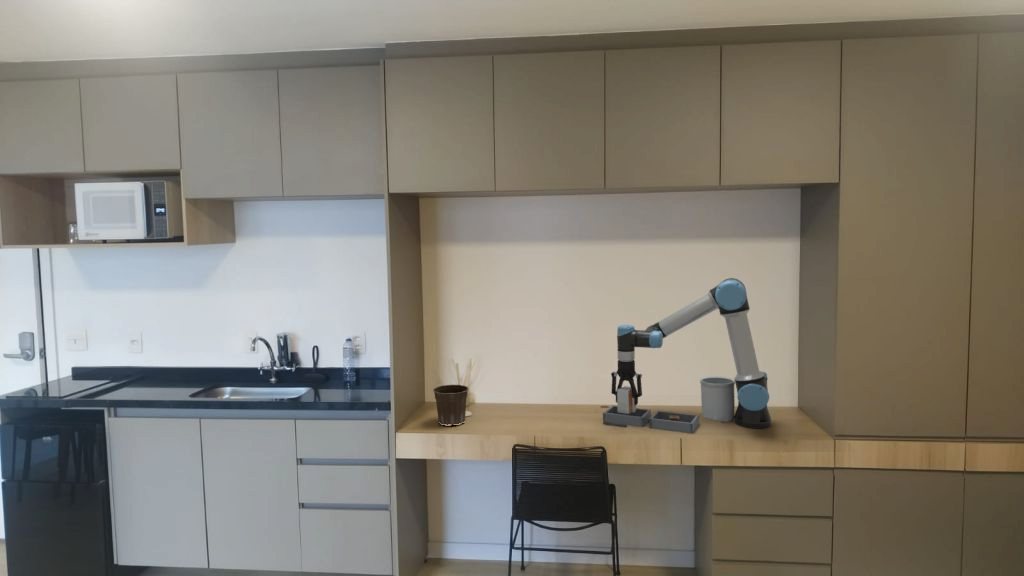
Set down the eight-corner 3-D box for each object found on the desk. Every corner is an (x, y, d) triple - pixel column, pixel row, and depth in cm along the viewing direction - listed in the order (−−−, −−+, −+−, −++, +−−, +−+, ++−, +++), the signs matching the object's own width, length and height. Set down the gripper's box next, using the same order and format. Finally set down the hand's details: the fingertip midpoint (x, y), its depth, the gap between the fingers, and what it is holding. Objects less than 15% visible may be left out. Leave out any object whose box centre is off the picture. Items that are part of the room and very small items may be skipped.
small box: (628, 414, 257) (628, 391, 256) (617, 412, 260) (616, 389, 259) (636, 410, 263) (636, 387, 262) (625, 408, 266) (624, 385, 265)
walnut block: (679, 424, 253) (679, 415, 253) (679, 427, 249) (679, 418, 249) (669, 424, 254) (669, 415, 254) (669, 427, 250) (669, 418, 250)
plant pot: (476, 419, 273) (474, 385, 272) (458, 430, 259) (457, 394, 258) (446, 416, 280) (444, 383, 279) (427, 426, 266) (426, 391, 264)
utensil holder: (700, 421, 259) (700, 383, 258) (700, 412, 273) (699, 375, 272) (736, 423, 255) (735, 384, 253) (733, 413, 269) (733, 376, 267)
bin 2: (699, 426, 253) (698, 415, 252) (692, 435, 242) (692, 423, 241) (657, 421, 262) (657, 410, 261) (649, 430, 250) (649, 418, 250)
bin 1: (651, 420, 263) (650, 409, 263) (642, 429, 252) (642, 417, 251) (612, 415, 272) (612, 405, 271) (603, 424, 261) (602, 413, 260)
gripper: (649, 359, 258) (650, 410, 260) (608, 356, 267) (609, 406, 269) (644, 363, 252) (645, 415, 253) (602, 359, 261) (603, 410, 263)
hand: (626, 410), depth 261 cm, fingers closed on small box, 6 cm apart
